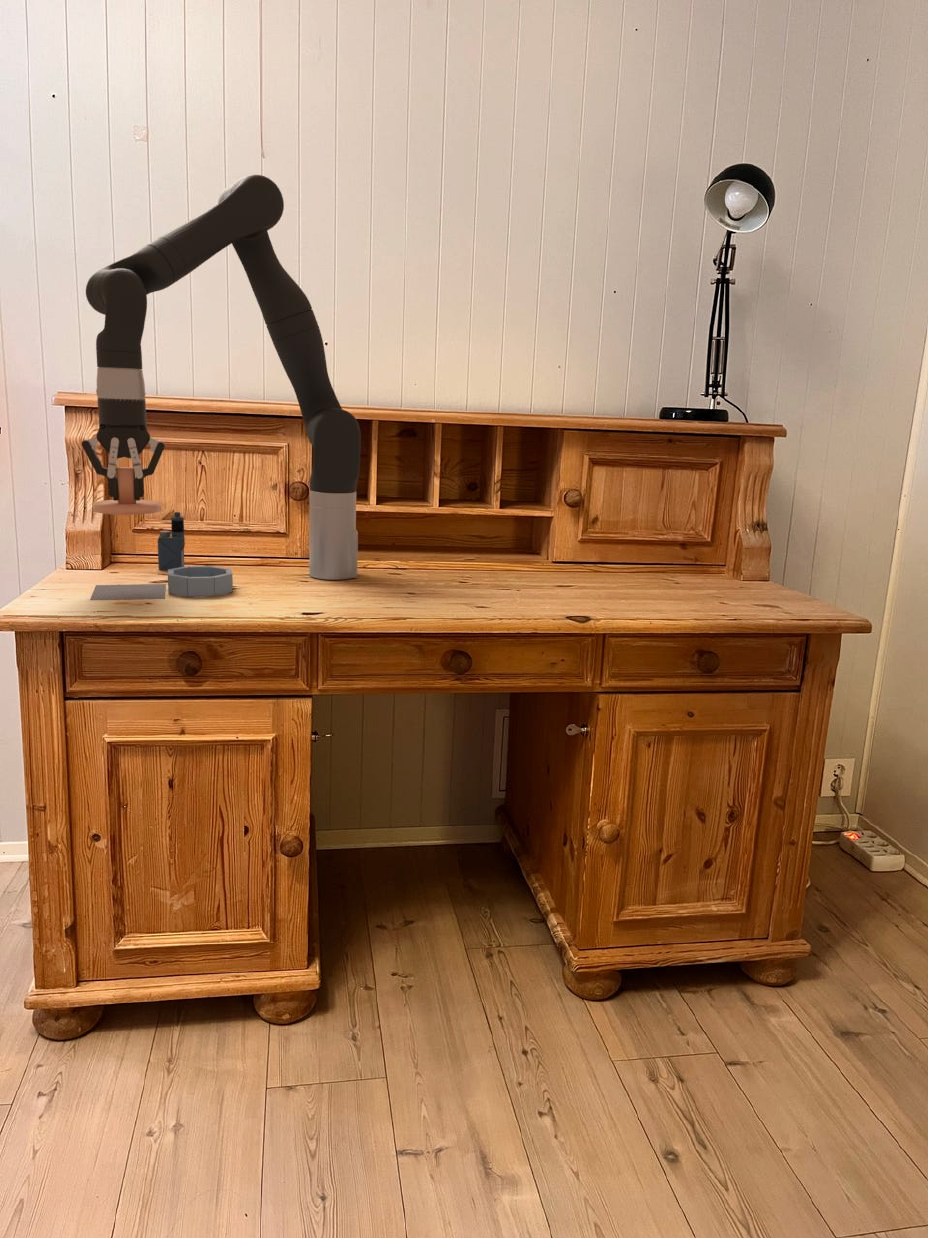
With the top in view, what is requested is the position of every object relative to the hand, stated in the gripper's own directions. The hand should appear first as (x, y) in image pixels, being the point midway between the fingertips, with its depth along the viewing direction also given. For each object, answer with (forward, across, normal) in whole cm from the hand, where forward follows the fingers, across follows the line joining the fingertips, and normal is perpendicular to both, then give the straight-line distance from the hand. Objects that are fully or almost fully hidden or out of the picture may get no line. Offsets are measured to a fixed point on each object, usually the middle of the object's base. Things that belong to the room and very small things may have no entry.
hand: (126, 499), depth 154 cm
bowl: (+17, -12, 0) cm, 21 cm away
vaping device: (+17, -7, -20) cm, 27 cm away
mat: (+17, 0, 0) cm, 17 cm away
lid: (+2, 0, 0) cm, 2 cm away
